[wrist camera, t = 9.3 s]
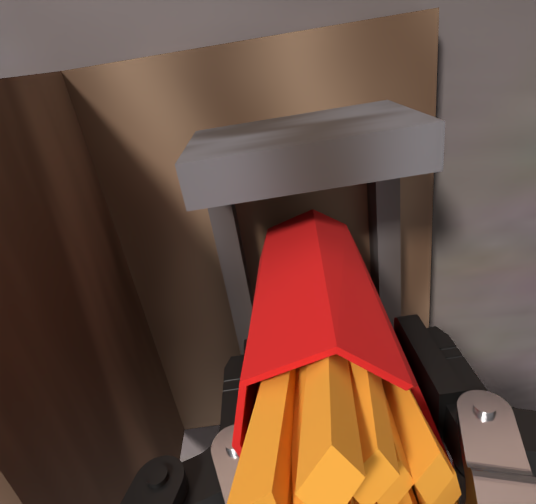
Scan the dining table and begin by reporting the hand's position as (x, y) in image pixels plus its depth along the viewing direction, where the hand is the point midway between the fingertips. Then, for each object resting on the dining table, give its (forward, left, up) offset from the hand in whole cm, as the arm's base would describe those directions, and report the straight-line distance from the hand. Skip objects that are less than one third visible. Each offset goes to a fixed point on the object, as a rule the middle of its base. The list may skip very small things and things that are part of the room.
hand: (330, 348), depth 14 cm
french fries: (0, 0, -5) cm, 5 cm away
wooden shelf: (-2, 0, -8) cm, 8 cm away
